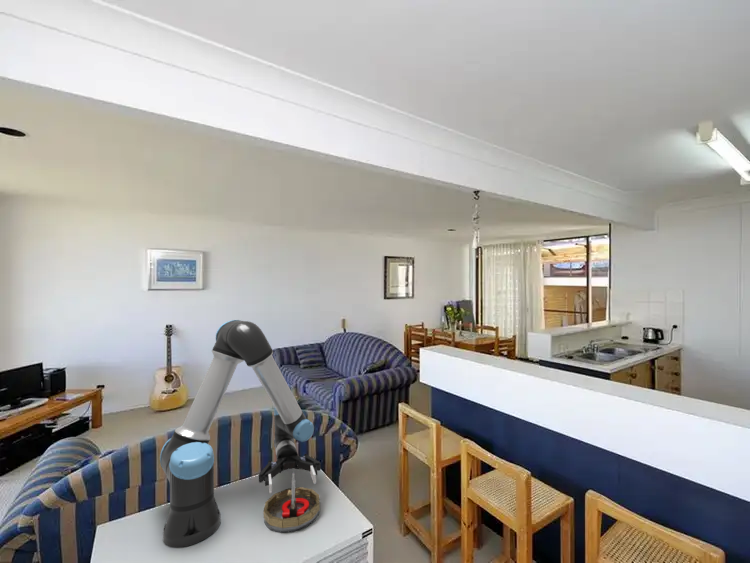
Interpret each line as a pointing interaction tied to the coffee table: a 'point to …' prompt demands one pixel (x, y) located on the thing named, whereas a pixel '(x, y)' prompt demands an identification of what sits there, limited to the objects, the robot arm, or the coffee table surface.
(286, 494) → the wooden rimmed bowl
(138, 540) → the coffee table surface
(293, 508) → the tow hook
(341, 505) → the coffee table surface
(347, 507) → the coffee table surface
